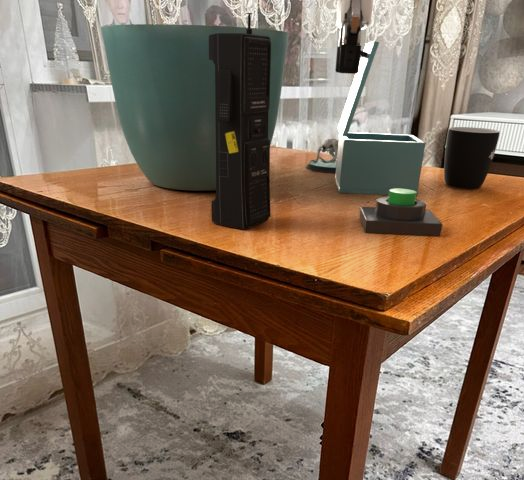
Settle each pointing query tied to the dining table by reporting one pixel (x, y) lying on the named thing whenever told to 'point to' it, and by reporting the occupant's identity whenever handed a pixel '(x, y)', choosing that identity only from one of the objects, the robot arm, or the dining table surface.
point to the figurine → (325, 165)
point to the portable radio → (241, 128)
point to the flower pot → (176, 97)
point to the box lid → (357, 87)
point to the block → (399, 219)
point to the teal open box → (378, 163)
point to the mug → (468, 156)
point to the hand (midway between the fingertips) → (346, 72)
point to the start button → (402, 196)
